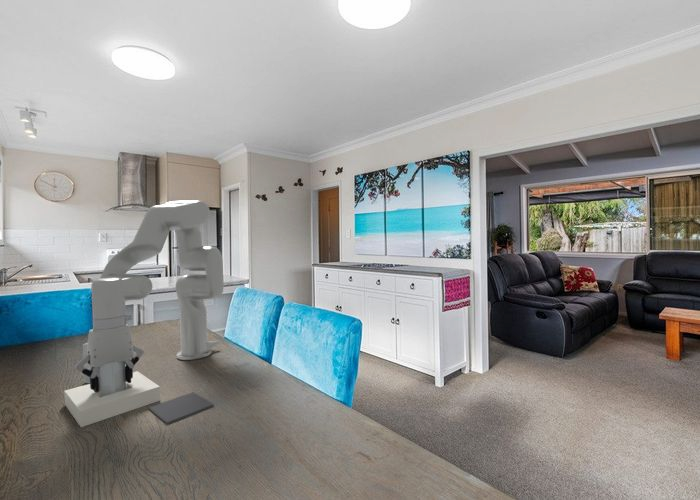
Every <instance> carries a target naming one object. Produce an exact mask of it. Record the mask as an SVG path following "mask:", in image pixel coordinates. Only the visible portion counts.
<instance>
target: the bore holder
mask: <svg viewBox="0 0 700 500" xmlns="http://www.w3.org/2000/svg"><path fill="white" fill-rule="evenodd" d="M159 401H161V386H160V385H159V384H157V383H155V382H154V381H153V380H151V379H149V378H148V377H147V376H145V375H144V374H142V373H141V372H139V371H133V378H131V383H127V382H126V390H123V391H120V392H116V393H113V394H110V395H106V396H103V397H99V394H98V392H95V391H94V390H93V389H92V390H91V388H90V383H87V384H84V385H81V386H77V387H73V388H69V389H65V390H64V405H65V407H66V408H67V410H68V411H69V413H70V414H71V415H72V417H73V419H75V421H76V422H77V424H78V425H79V426H80V428H84V427H86V426H89V425H92V424H96V423H98V422H101V421H104V420H107V419H109V418H112V417H116V416H119V415H121V414H125V413H128V412H131V411H133V410H136V409H139V408H142V407H145V406H147V405H151V404H154V403H157V402H159Z"/></svg>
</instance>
